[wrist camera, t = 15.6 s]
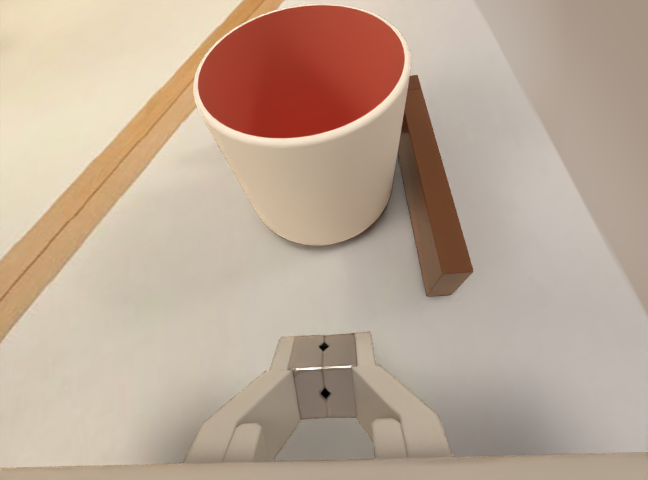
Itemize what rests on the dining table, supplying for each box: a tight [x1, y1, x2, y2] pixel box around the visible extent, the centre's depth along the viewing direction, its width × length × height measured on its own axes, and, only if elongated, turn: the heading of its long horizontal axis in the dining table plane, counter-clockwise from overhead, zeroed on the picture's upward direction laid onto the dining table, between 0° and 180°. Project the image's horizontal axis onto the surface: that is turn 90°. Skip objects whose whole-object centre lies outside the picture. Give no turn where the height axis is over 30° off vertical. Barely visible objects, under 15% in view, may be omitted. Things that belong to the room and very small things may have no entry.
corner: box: [398, 75, 473, 297], centre depth 20 cm, size 15×15×4 cm
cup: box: [193, 4, 411, 245], centre depth 18 cm, size 10×10×10 cm
